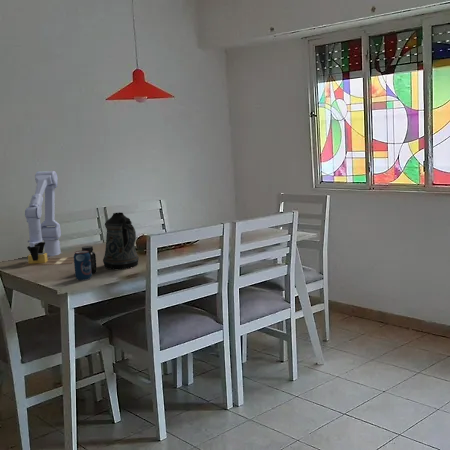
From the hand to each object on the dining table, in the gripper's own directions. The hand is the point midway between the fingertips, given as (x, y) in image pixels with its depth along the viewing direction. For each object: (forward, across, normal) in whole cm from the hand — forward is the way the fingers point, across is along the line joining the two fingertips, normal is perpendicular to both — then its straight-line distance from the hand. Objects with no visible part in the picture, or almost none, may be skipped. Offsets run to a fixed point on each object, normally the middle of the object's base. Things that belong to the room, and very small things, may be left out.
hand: (37, 258), depth 298 cm
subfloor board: (+3, -1, +6) cm, 7 cm away
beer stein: (+3, +13, +44) cm, 46 cm away
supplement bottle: (+3, +24, +30) cm, 38 cm away
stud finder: (+2, 0, 0) cm, 2 cm away
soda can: (+3, +35, +30) cm, 46 cm away
